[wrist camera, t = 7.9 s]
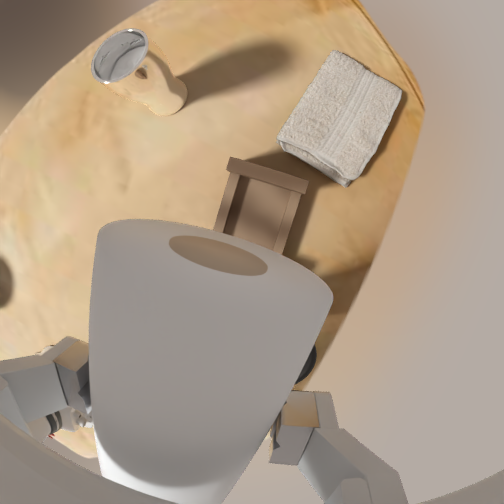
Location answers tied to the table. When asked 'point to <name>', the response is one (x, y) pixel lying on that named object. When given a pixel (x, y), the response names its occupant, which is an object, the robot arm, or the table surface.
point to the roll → (192, 353)
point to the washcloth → (340, 118)
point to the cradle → (259, 204)
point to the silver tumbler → (138, 72)
